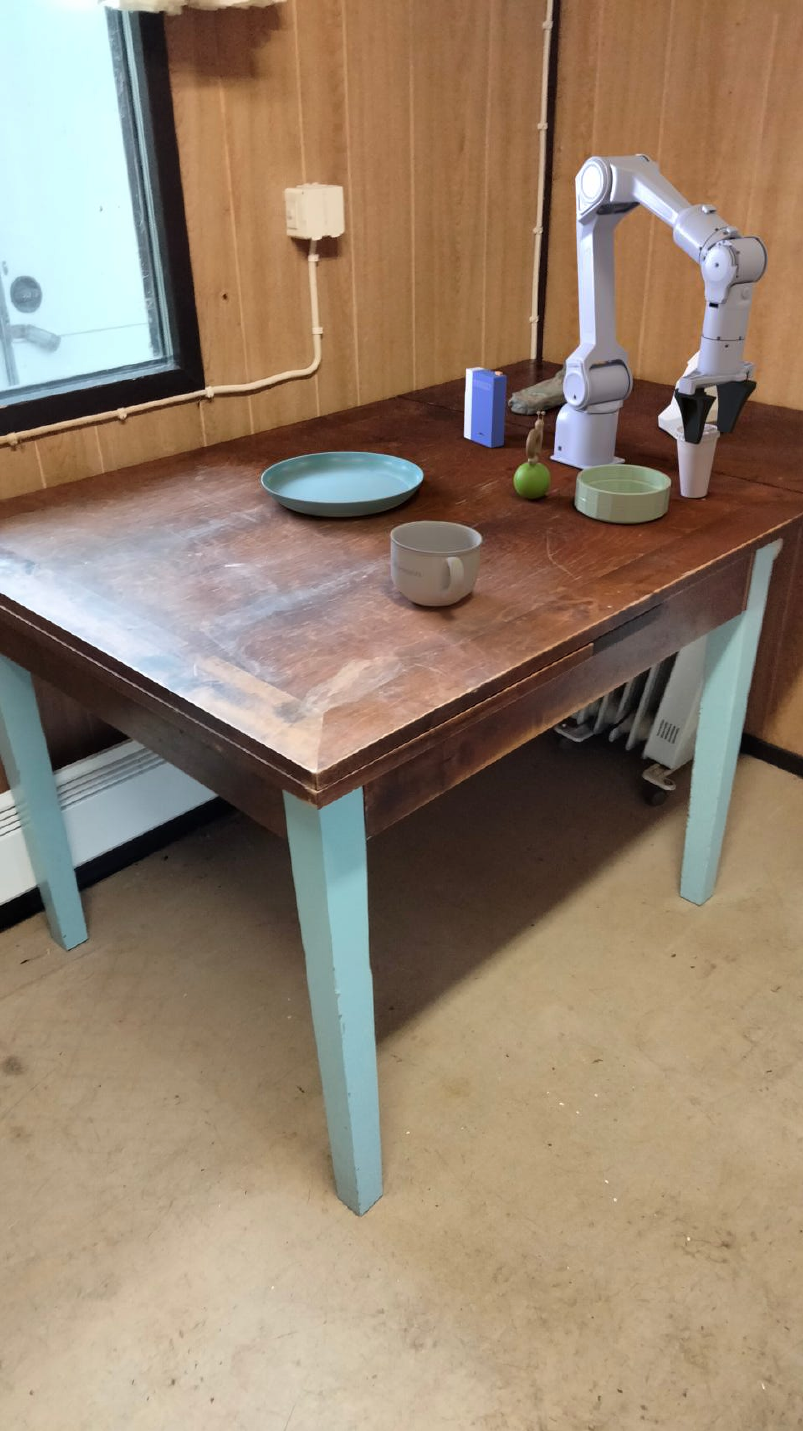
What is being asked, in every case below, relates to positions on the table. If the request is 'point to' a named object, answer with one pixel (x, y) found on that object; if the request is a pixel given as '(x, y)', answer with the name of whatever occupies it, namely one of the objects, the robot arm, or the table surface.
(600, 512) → the bowl
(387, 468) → the teal plate
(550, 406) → the elongated rock
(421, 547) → the teacup
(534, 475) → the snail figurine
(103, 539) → the table surface
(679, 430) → the smoothie
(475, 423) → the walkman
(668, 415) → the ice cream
